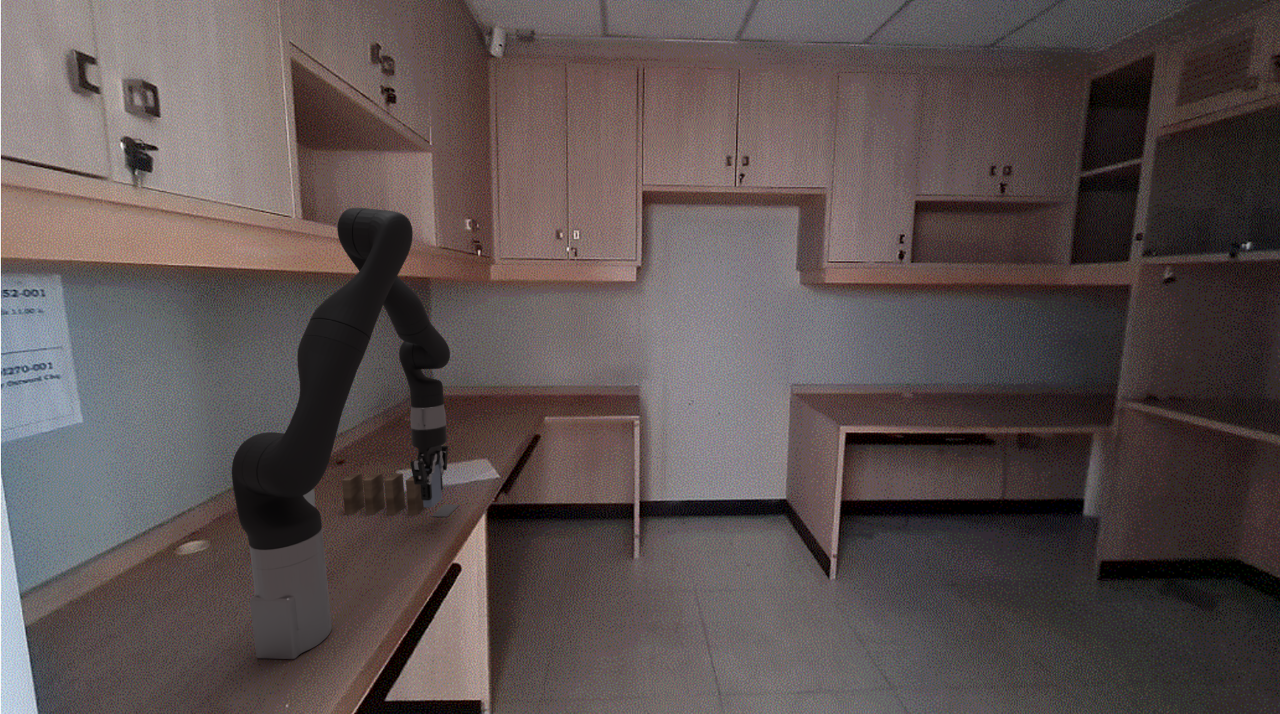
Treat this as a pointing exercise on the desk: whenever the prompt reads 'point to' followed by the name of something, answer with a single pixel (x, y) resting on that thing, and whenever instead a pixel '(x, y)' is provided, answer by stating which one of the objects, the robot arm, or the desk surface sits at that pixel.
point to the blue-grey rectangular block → (434, 488)
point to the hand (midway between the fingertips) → (432, 494)
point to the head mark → (445, 511)
